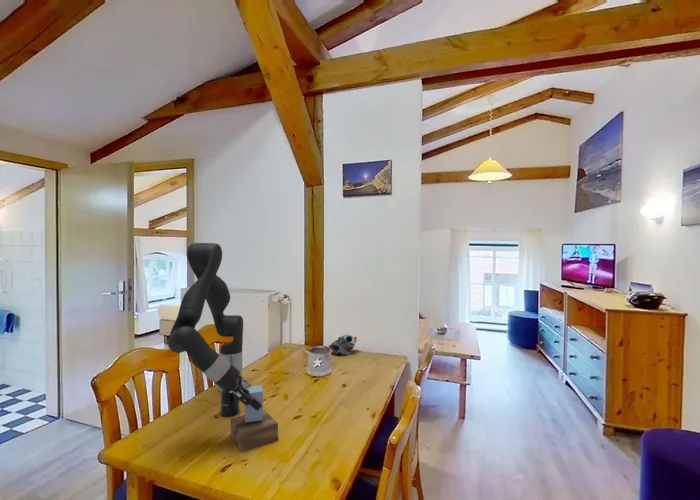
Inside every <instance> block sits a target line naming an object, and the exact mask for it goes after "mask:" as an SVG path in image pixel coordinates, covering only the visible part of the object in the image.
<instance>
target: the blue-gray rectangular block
mask: <svg viewBox="0 0 700 500" xmlns="http://www.w3.org/2000/svg"><path fill="white" fill-rule="evenodd" d="M247 389H248V390H249V391H250V393H249V394H250V395H251V396H252V397H254V399H256V400H257V401H258V402H259V403H260V404H261V405H262V407H261V408H260V409H259V410H258V411H257V410H255V409H254V408H253V407H252V406H251V405H247V406H246V405H245V404H244V415H245V422H252V421H260V420H263V410H264V392H263V391H264V390H263V385H262V384H261V385H260V384H259V385H251V386H250V387H247ZM245 393H246V392H245ZM245 399H246V400H248V398H245Z"/></svg>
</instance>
